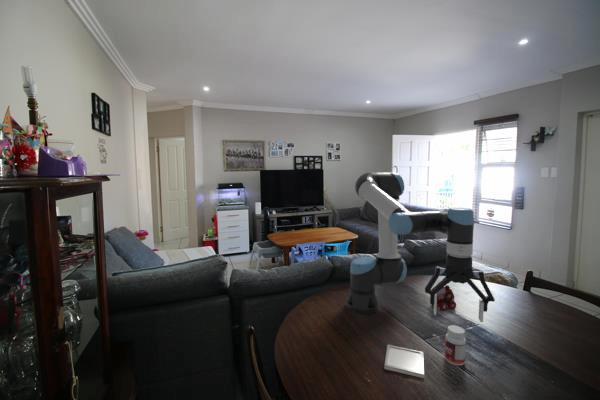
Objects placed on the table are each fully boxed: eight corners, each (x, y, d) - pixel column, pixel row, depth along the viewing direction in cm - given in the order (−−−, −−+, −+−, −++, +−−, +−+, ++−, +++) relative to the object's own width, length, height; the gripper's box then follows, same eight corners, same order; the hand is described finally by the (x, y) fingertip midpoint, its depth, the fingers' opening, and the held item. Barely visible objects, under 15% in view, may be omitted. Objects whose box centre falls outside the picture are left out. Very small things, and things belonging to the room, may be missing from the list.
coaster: (384, 368, 93) (384, 365, 93) (387, 347, 104) (387, 344, 104) (424, 378, 88) (424, 374, 88) (422, 355, 99) (423, 351, 99)
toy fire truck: (459, 308, 133) (460, 287, 132) (438, 312, 129) (439, 291, 128) (447, 302, 140) (448, 282, 139) (427, 306, 136) (427, 285, 135)
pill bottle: (440, 355, 99) (442, 324, 98) (457, 354, 100) (458, 323, 99) (451, 367, 93) (453, 334, 92) (469, 365, 94) (470, 333, 93)
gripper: (418, 254, 94) (417, 315, 96) (508, 261, 85) (504, 329, 87) (418, 248, 101) (417, 305, 103) (501, 255, 92) (498, 317, 94)
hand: (457, 316), depth 95 cm, fingers open, 13 cm apart
